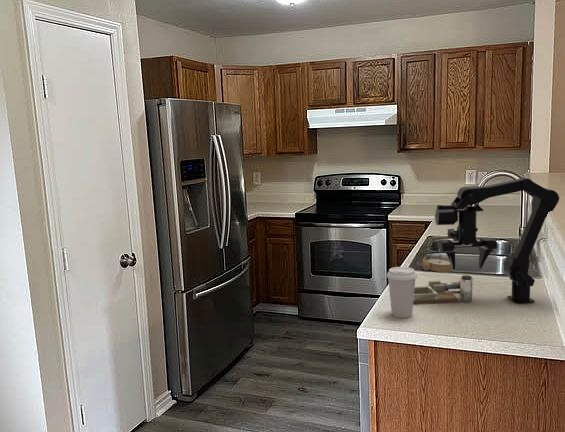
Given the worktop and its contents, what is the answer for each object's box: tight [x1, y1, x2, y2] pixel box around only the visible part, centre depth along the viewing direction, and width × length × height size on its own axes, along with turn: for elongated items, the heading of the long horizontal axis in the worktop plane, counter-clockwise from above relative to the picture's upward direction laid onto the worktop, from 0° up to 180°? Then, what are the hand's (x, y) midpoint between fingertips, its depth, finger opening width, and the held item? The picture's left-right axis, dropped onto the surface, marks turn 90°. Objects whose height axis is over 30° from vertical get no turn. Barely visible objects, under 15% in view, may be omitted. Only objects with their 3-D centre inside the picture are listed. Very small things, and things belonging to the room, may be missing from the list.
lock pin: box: [439, 280, 460, 290], centre depth 186 cm, size 4×9×4 cm, turn 91°
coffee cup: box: [386, 266, 418, 319], centre depth 165 cm, size 10×10×15 cm
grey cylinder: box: [459, 274, 474, 304], centre depth 176 cm, size 4×4×9 cm
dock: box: [413, 280, 460, 306], centre depth 182 cm, size 14×16×4 cm
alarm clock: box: [416, 256, 454, 273], centre depth 219 cm, size 11×5×15 cm
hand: (466, 269), depth 175 cm, fingers open, 9 cm apart
